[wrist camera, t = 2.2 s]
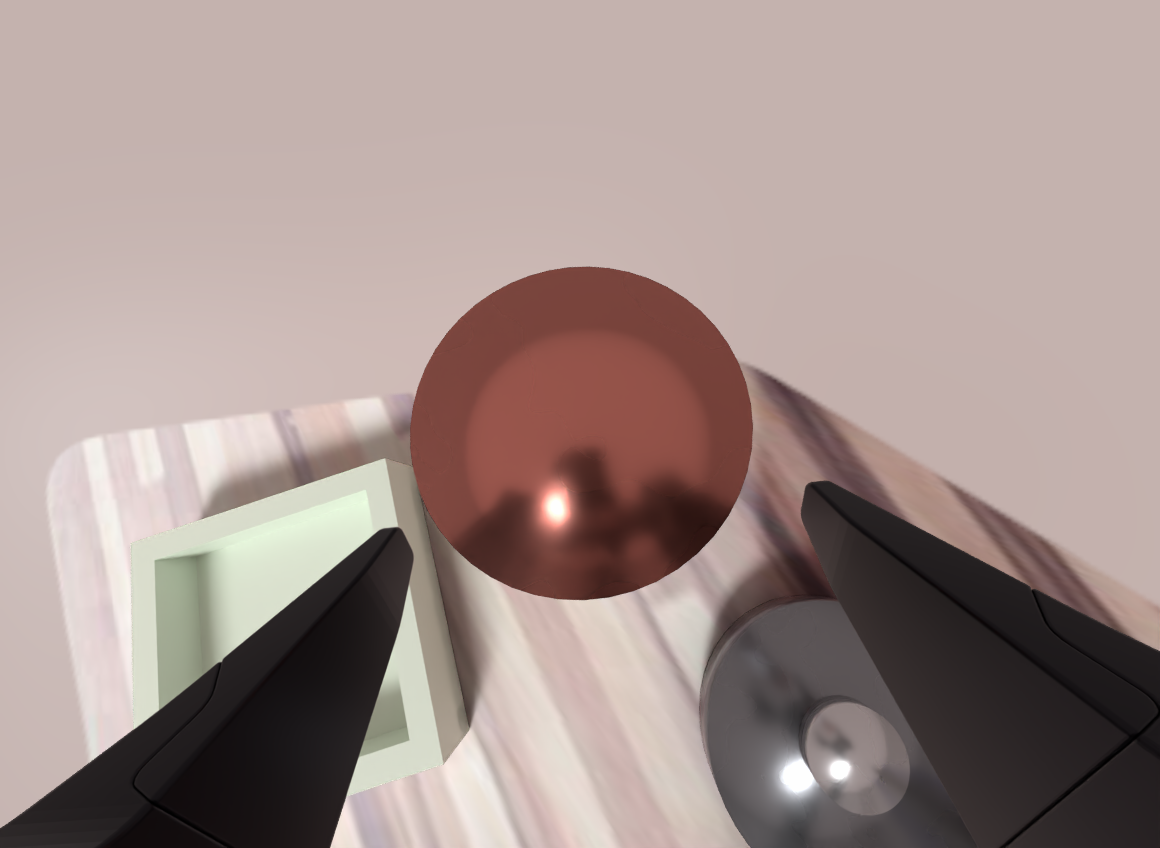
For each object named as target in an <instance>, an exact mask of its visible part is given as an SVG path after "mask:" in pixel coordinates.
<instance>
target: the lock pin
mask: <svg viewBox="0 0 1160 848" xmlns="http://www.w3.org/2000/svg"><path fill="white" fill-rule="evenodd" d="M752 432H753V423H752V412H751V403H750V398H749V394H748V390H747V385H746V382H745V379H744V376H743V374H742V371H741V368H740V366H739V363H738V361H737V359H736V357H735V356H734V354H733V352H732V350H731V348H730V346H729V345H728V343H727V341H726V340H725V339H724V337H723V336H722V335H721V333H720V332H719V331H718V329H717V328H716V327H715V325H714V324H713V323H712V322H711V321H710V320H709V319H708V318H707V317H706V316H705V315H704V314H703V313H702V312H701V311H700V310H699V309H698V308H696V307H695V306H694V305H693V304H692V303H690V302H689V301H688V300H687V299H685V298H684V297H682V296H681V295H679V294H677V293H676V292H674V291H673V290H671V289H669V288H668V287H666V286H664V285H662V284H659V283H657V282H655V281H653V280H651V279H649V278H646V277H642V276H639V275H636V274H633V273H630V272H625V271H620V270H615V269H610V268H599V267H569V268H562V269H556V270H549V271H546V272H542V273H538V274H534V275H531V276H528V277H526V278H523V279H520V280H518V281H515V282H513V283H510V284H508V285H507V286H505V287H503V288H501V289H499V290H497V291H495V292H493V293H492V294H490V295H489V296H487V297H486V298H485V299H483V300H482V301H480V302H479V303H478V304H476V305H475V306H474V307H473V308H471V309H470V310H469V311H468V312H467V313H466V314H465V315H464V316H462V317H461V318H460V319H459V320H458V322H457V323H456V324H455V325H454V326H453V327H452V328H451V329H450V330H449V331H448V333H447V334H446V335H445V337H444V338H443V340H442V341H441V343H440V344H439V345H438V347H437V348H436V349H435V351H434V353H433V355H432V357H431V359H430V360H429V362H428V364H427V366H426V368H425V370H424V373H423V376H422V378H421V381H420V383H419V386H418V389H417V393H416V397H415V401H414V405H413V410H412V418H411V427H410V449H411V456H412V464H413V470H414V474H415V478H416V481H417V485H418V488H419V492H420V494H421V496H422V499H423V501H424V503H425V505H426V508H427V510H428V512H429V514H430V515H431V517H432V519H433V520H434V522H435V524H436V525H437V527H438V528H439V530H440V531H441V533H442V534H443V535H444V536H445V537H446V539H447V540H448V541H449V542H450V544H451V545H452V546H453V547H454V548H455V549H456V550H457V551H458V552H459V553H460V554H461V555H462V556H463V557H464V558H466V559H467V560H468V561H469V562H470V563H471V564H472V565H474V566H475V567H477V568H478V569H480V570H481V571H483V572H484V573H486V574H487V575H489V576H490V577H492V578H494V579H496V580H498V581H500V582H502V583H504V584H506V585H508V586H510V587H512V588H515V589H518V590H521V591H524V592H527V593H530V594H533V595H538V596H544V597H549V598H555V599H567V600H589V599H599V598H608V597H612V596H616V595H620V594H624V593H628V592H632V591H635V590H637V589H640V588H642V587H645V586H647V585H649V584H652V583H654V582H657V581H658V580H660V579H662V578H663V577H665V576H667V575H669V574H670V573H672V572H674V571H675V570H677V569H679V568H680V567H681V566H682V565H684V564H685V563H686V562H687V561H689V560H690V559H691V558H692V557H694V556H695V555H696V554H697V553H698V552H699V551H700V550H701V549H702V548H703V547H704V546H705V545H706V544H707V543H708V542H709V541H710V540H711V539H712V538H713V537H714V535H715V534H716V533H717V531H718V530H719V528H720V527H721V526H722V524H723V523H724V521H725V520H726V518H727V517H728V516H729V514H730V512H731V510H732V508H733V506H734V504H735V502H736V500H737V498H738V496H739V494H740V491H741V488H742V486H743V483H744V480H745V477H746V474H747V471H748V465H749V460H750V455H751V450H752Z"/></svg>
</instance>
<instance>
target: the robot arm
mask: <svg viewBox="0 0 1160 848" xmlns="http://www.w3.org/2000/svg"><path fill="white" fill-rule="evenodd" d="M801 518H802V522H803V524H804V526H805V529H806V531H807V533H808V536H809V538H810V540H811V543H812V545H813V547H814V550H815V552H816V554H817V557H818V559H819V561H820V564H821V566H822V568H823V571H824V573H825V575H826V577H827V580H828V582H829V584H830V586H831V588H832V590H833V592H834V594H835V596H836V597H837V599H838V601H839V603H840V604H841V606H842V608H843V610H844V612H845V613H846V615H847V617H848V619H849V620H850V622H851V624H852V626H853V627H854V629H855V631H856V633H857V635H858V636H859V638H860V640H861V642H862V643H863V645H864V647H865V649H866V650H867V652H868V654H869V656H870V657H871V659H872V661H873V663H874V665H875V666H876V668H877V670H878V672H879V673H880V675H881V677H882V679H883V680H884V682H885V684H886V686H887V688H888V689H889V691H890V693H891V695H892V696H893V698H894V700H895V702H896V703H897V705H898V707H899V709H900V710H901V712H902V714H903V716H904V718H905V719H906V721H907V723H908V725H909V726H910V728H911V730H912V732H913V733H914V735H915V737H916V739H917V741H918V742H919V744H920V746H921V748H922V749H923V751H924V753H925V755H926V756H927V758H928V760H929V762H930V763H931V765H932V767H933V769H934V771H935V772H936V774H937V776H938V778H939V779H940V781H941V783H942V785H943V786H944V788H945V790H946V792H947V794H948V795H949V797H950V799H951V801H952V802H953V804H954V806H955V808H956V809H957V811H958V813H959V815H960V816H961V818H962V820H963V822H964V824H965V825H966V827H967V829H968V831H969V832H970V834H971V836H972V838H973V839H974V841H975V843H976V845H977V847H978V848H1160V651H1158V650H1156V649H1154V648H1152V647H1150V646H1148V645H1146V644H1144V643H1142V642H1139V641H1137V640H1135V639H1133V638H1131V637H1129V636H1127V635H1125V634H1123V633H1121V632H1119V631H1117V630H1114V629H1112V628H1110V627H1108V626H1106V625H1104V624H1102V623H1100V622H1099V621H1097V620H1095V619H1093V618H1091V617H1089V616H1087V615H1085V614H1083V613H1081V612H1079V611H1077V610H1075V609H1073V608H1071V607H1069V606H1067V605H1065V604H1063V603H1061V602H1059V601H1057V600H1056V599H1054V598H1052V597H1050V596H1048V595H1046V594H1044V593H1042V592H1040V591H1038V590H1036V589H1032V590H1031V588H1030V586H1028V585H1027V584H1025V583H1023V582H1021V581H1019V580H1017V579H1015V578H1013V577H1011V576H1009V575H1008V574H1006V573H1004V572H1002V571H1000V570H998V569H996V568H994V567H992V566H990V565H988V564H987V563H985V562H983V561H981V560H979V559H977V558H975V557H973V556H971V555H969V554H968V553H966V552H964V551H962V550H960V549H958V548H956V547H954V546H952V545H950V544H948V543H947V542H945V541H943V540H941V539H939V538H937V537H935V536H933V535H931V534H929V533H927V532H926V531H924V530H922V529H920V528H918V527H916V526H914V525H912V524H910V523H908V522H906V521H905V520H903V519H901V518H899V517H897V516H895V515H893V514H891V513H889V512H887V511H886V510H884V509H882V508H880V507H878V506H876V505H874V504H872V503H870V502H868V501H866V500H865V499H863V498H861V497H859V496H857V495H855V494H853V493H851V492H849V491H847V490H845V489H844V488H842V487H840V486H838V485H836V484H834V483H832V482H830V481H817V482H810V483H808V484H807V485H806V487H805V491H804V497H803V502H802V507H801ZM413 562H414V554H413V551H412V548H411V546H410V544H409V542H408V540H407V538H406V536H405V534H404V532H403V530H402V529H401V528H399V527H390V528H383V529H380V530H379V531H377V532H376V533H375V534H374V535H372V536H371V537H370V538H369V539H368V540H366V541H365V542H364V543H363V544H361V545H360V546H359V547H358V548H357V549H355V550H354V551H353V552H352V553H351V554H349V555H348V556H347V557H346V558H344V559H343V560H342V561H341V562H340V563H338V564H337V565H336V566H335V567H334V568H332V569H331V570H330V571H329V572H327V573H326V574H325V575H324V576H323V577H321V578H320V579H319V580H318V581H317V582H315V583H314V584H313V585H312V586H310V587H309V588H308V589H307V590H306V591H304V592H303V593H302V594H301V595H300V596H298V597H297V598H296V599H295V600H293V601H292V602H291V603H290V604H289V605H287V606H286V607H285V608H284V609H282V610H281V611H280V612H279V613H278V614H276V615H275V616H274V617H273V618H272V619H270V620H269V621H268V622H267V623H265V624H264V625H263V626H262V627H261V628H259V629H258V630H257V631H256V632H255V633H253V634H252V635H251V636H250V637H248V638H247V639H246V640H245V641H244V642H242V643H241V644H240V645H239V646H238V647H236V648H235V649H234V650H233V651H231V652H230V653H229V654H228V655H227V656H225V657H224V658H223V660H222V662H218V663H217V664H215V665H214V666H213V667H212V668H211V669H209V670H208V671H207V672H206V673H205V674H203V675H202V676H201V677H200V678H199V679H197V680H196V681H195V682H194V683H192V684H191V685H190V686H189V687H187V688H186V689H185V690H184V691H182V692H181V693H180V694H179V695H177V696H176V697H175V698H174V699H172V700H171V701H170V702H169V703H167V704H166V705H165V706H164V707H162V708H161V709H160V710H159V711H157V712H156V713H155V714H153V715H152V716H151V717H149V718H148V719H147V720H145V721H144V722H143V723H141V724H140V725H139V726H138V727H136V728H135V729H134V730H132V731H131V732H130V733H128V734H127V735H126V736H124V737H123V738H122V739H120V740H119V741H118V742H116V743H115V744H114V745H112V746H111V747H110V748H108V749H107V750H106V751H104V752H103V753H102V754H100V755H99V756H98V757H96V758H95V759H94V760H92V761H91V762H90V763H88V764H87V765H86V766H84V767H83V768H82V769H81V770H79V771H78V772H76V773H75V774H74V775H72V776H71V777H70V778H69V779H67V780H66V781H64V782H63V783H62V784H61V785H59V786H58V787H56V788H55V789H54V790H52V791H51V792H50V793H48V794H47V795H46V796H44V797H43V798H42V799H40V800H39V801H38V802H36V803H35V804H34V805H32V806H31V807H30V808H28V809H27V810H26V811H24V812H23V813H22V814H20V815H19V816H17V817H16V818H15V819H13V820H12V821H10V822H9V823H8V824H6V825H5V826H3V827H2V828H0V848H330V846H331V843H332V840H333V837H334V834H335V830H336V827H337V824H338V821H339V818H340V815H341V812H342V808H343V805H344V802H345V799H346V796H347V793H348V790H349V786H350V783H351V780H352V777H353V774H354V771H355V767H356V764H357V761H358V758H359V755H360V752H361V749H362V745H363V742H364V739H365V736H366V733H367V730H368V726H369V723H370V720H371V717H372V714H373V711H374V708H375V704H376V701H377V698H378V695H379V692H380V689H381V685H382V682H383V679H384V676H385V673H386V670H387V667H388V663H389V660H390V657H391V654H392V651H393V648H394V644H395V641H396V638H397V635H398V631H399V628H400V624H401V620H402V616H403V611H404V606H405V601H406V596H407V591H408V587H409V582H410V577H411V572H412V567H413Z"/></svg>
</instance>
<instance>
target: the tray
mask: <svg viewBox="0 0 1160 848" xmlns="http://www.w3.org/2000/svg"><path fill="white" fill-rule="evenodd" d="M390 527H399V528H401V529H402V530H403V532H404V534H405V536H406V538H407V540H408V542H409V544H410V546H411V548H412V551H413V554H414V562H413V567H412V572H411V577H410V582H409V587H408V591H407V596H406V601H405V606H404V611H403V616H402V620H401V624H400V628H399V631H398V635H397V638H396V641H395V644H394V648H393V651H392V654H391V657H390V660H389V663H388V667H387V670H386V673H385V676H384V679H383V682H382V685H381V689H380V692H379V695H378V698H377V701H376V704H375V708H374V711H373V714H372V717H371V720H370V723H369V726H368V730H367V733H366V736H365V739H364V742H363V745H362V749H361V752H360V755H359V758H358V761H357V764H356V767H355V771H354V774H353V777H352V780H351V783H350V786H349V790H348V793H347V796H349V795H352V794H355V793H358V792H362V791H365V790H368V789H371V788H374V787H377V786H380V785H383V784H386V783H389V782H392V781H395V780H398V779H401V778H404V777H407V776H410V775H413V774H416V773H419V772H422V771H425V770H428V769H431V768H434V767H437V766H440V765H443V764H444V763H445V762H446V761H447V759H448V758H449V756H450V755H451V754H452V752H453V751H454V750H455V748H456V747H457V746H458V744H459V743H460V742H461V740H462V739H463V738H464V736H465V735H466V734H467V732H468V731H469V725H468V720H467V716H466V711H465V706H464V701H463V697H462V692H461V687H460V682H459V677H458V673H457V668H456V663H455V658H454V654H453V649H452V644H451V639H450V634H449V630H448V625H447V620H446V615H445V611H444V606H443V601H442V596H441V592H440V587H439V582H438V577H437V572H436V568H435V563H434V558H433V553H432V549H431V544H430V539H429V534H428V529H427V525H426V520H425V515H424V510H423V506H422V501H421V496H420V492H419V488H418V485H417V481H416V478H415V474H414V470H413V467H412V466H409V465H406V464H403V463H400V462H396V461H393V460H390V459H387V458H384V459H381V460H378V461H375V462H372V463H369V464H366V465H363V466H360V467H357V468H354V469H351V470H348V471H345V472H342V473H339V474H336V475H333V476H330V477H327V478H324V479H321V480H318V481H315V482H312V483H309V484H306V485H303V486H300V487H297V488H294V489H291V490H288V491H285V492H282V493H279V494H276V495H273V496H270V497H267V498H264V499H261V500H258V501H255V502H252V503H249V504H246V505H243V506H240V507H237V508H234V509H231V510H228V511H225V512H222V513H219V514H216V515H213V516H210V517H207V518H204V519H201V520H198V521H195V522H192V523H189V524H186V525H183V526H180V527H177V528H174V529H171V530H168V531H165V532H162V533H159V534H157V535H154V536H151V537H148V538H145V539H142V540H139V541H136V542H133V543H131V603H132V669H133V730H134V729H135V728H136V727H138V726H139V725H140V724H141V723H143V722H144V721H145V720H147V719H148V718H149V717H151V716H152V715H153V714H155V713H156V712H157V711H159V710H160V709H161V708H162V707H164V706H165V705H166V704H167V703H169V702H170V701H171V700H172V699H174V698H175V697H176V696H177V695H179V694H180V693H181V692H182V691H184V690H185V689H186V688H187V687H189V686H190V685H191V684H192V683H194V682H195V681H196V680H197V679H199V678H200V677H201V676H202V675H203V674H205V673H206V672H207V671H208V670H209V669H211V668H212V667H213V666H214V665H215V664H217V663H218V662H222V660H223V658H224V657H225V656H227V655H228V654H229V653H230V652H231V651H233V650H234V649H235V648H236V647H238V646H239V645H240V644H241V643H242V642H244V641H245V640H246V639H247V638H248V637H250V636H251V635H252V634H253V633H255V632H256V631H257V630H258V629H259V628H261V627H262V626H263V625H264V624H265V623H267V622H268V621H269V620H270V619H272V618H273V617H274V616H275V615H276V614H278V613H279V612H280V611H281V610H282V609H284V608H285V607H286V606H287V605H289V604H290V603H291V602H292V601H293V600H295V599H296V598H297V597H298V596H300V595H301V594H302V593H303V592H304V591H306V590H307V589H308V588H309V587H310V586H312V585H313V584H314V583H315V582H317V581H318V580H319V579H320V578H321V577H323V576H324V575H325V574H326V573H327V572H329V571H330V570H331V569H332V568H334V567H335V566H336V565H337V564H338V563H340V562H341V561H342V560H343V559H344V558H346V557H347V556H348V555H349V554H351V553H352V552H353V551H354V550H355V549H357V548H358V547H359V546H360V545H361V544H363V543H364V542H365V541H366V540H368V539H369V538H370V537H371V536H372V535H374V534H375V533H376V532H377V531H379V530H380V529H383V528H390Z"/></svg>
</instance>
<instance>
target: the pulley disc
mask: <svg viewBox="0 0 1160 848" xmlns="http://www.w3.org/2000/svg"><path fill="white" fill-rule="evenodd" d="M699 714H700V729H701V735H702V741H703V746H704V750H705V754H706V757H707V761H708V764H709V766H710V769H711V772H712V774H713V777H714V779H715V782H716V785H717V787H718V790H719V792H720V795H721V797H722V800H723V802H724V804H725V807H726V809H727V811H728V813H729V815H730V816H731V818H732V820H733V822H734V824H735V826H736V827H737V829H738V830H739V832H740V833H741V835H742V836H743V838H744V839H745V841H746V842H747V844H748V845H749V846H750V847H751V848H978V847H977V845H976V843H975V841H974V839H973V838H972V836H971V834H970V832H969V831H968V829H967V827H966V825H965V824H964V822H963V820H962V818H961V816H960V815H959V813H958V811H957V809H956V808H955V806H954V804H953V802H952V801H951V799H950V797H949V795H948V794H947V792H946V790H945V788H944V786H943V785H942V783H941V781H940V779H939V778H938V776H937V774H936V772H935V771H934V769H933V767H932V765H931V763H930V762H929V760H928V758H927V756H926V755H925V753H924V751H923V749H922V748H921V746H920V744H919V742H918V741H917V739H916V737H915V735H914V733H913V732H912V730H911V728H910V726H909V725H908V723H907V721H906V719H905V718H904V716H903V714H902V712H901V710H900V709H899V707H898V705H897V703H896V702H895V700H894V698H893V696H892V695H891V693H890V691H889V689H888V688H887V686H886V684H885V682H884V680H883V679H882V677H881V675H880V673H879V672H878V670H877V668H876V666H875V665H874V663H873V661H872V659H871V657H870V656H869V654H868V652H867V650H866V649H865V647H864V645H863V643H862V642H861V640H860V638H859V636H858V635H857V633H856V631H855V629H854V627H853V626H852V624H851V622H850V620H849V619H848V617H847V615H846V613H845V612H844V610H843V608H842V606H841V604H840V603H839V601H838V600H837V599H834V598H829V597H823V596H817V595H797V596H787V597H783V598H779V599H775V600H771V601H769V602H766V603H764V604H761V605H759V606H757V607H755V608H754V609H752V610H750V611H749V612H747V613H745V614H744V615H743V616H742V617H740V618H739V619H738V620H737V621H736V622H734V623H733V625H732V626H731V627H730V628H729V629H728V630H727V631H726V632H725V633H724V635H723V636H722V638H721V639H720V641H719V642H718V644H717V645H716V647H715V649H714V651H713V653H712V655H711V657H710V659H709V661H708V664H707V667H706V670H705V673H704V676H703V682H702V687H701V692H700V706H699Z"/></svg>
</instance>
